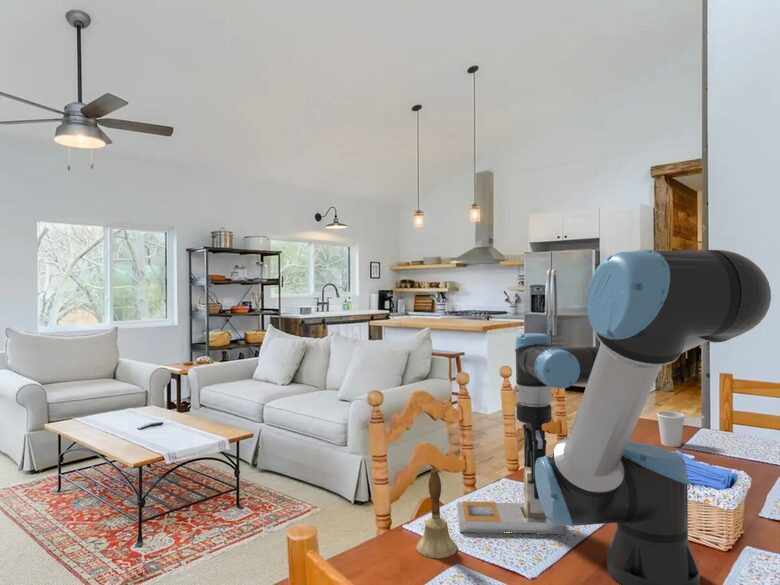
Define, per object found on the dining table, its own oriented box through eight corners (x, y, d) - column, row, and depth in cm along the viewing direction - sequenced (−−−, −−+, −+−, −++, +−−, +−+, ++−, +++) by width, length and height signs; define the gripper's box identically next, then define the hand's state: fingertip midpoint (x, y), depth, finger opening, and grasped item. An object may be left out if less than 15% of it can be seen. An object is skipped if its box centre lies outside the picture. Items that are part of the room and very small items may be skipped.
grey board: (563, 534, 111) (563, 522, 111) (459, 532, 113) (459, 520, 113) (552, 514, 121) (552, 502, 121) (457, 512, 123) (457, 501, 123)
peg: (546, 528, 115) (545, 473, 114) (527, 527, 115) (527, 473, 115) (542, 520, 119) (541, 467, 118) (524, 519, 119) (523, 467, 119)
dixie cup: (651, 442, 175) (650, 412, 175) (668, 439, 179) (667, 410, 179) (673, 449, 168) (673, 418, 168) (691, 445, 171) (691, 415, 171)
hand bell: (424, 561, 101) (423, 479, 101) (411, 541, 109) (410, 465, 109) (463, 555, 104) (462, 475, 103) (448, 536, 112) (447, 461, 111)
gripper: (510, 395, 125) (512, 492, 126) (523, 412, 108) (524, 524, 109) (542, 395, 125) (543, 492, 125) (560, 412, 108) (561, 525, 108)
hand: (535, 507), depth 117 cm, fingers closed on peg, 4 cm apart
